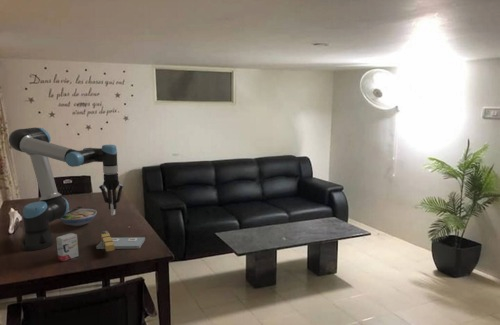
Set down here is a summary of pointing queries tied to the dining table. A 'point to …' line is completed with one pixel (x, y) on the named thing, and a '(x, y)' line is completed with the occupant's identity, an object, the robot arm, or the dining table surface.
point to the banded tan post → (107, 241)
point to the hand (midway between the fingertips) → (113, 214)
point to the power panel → (124, 243)
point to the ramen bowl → (78, 216)
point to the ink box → (67, 247)
